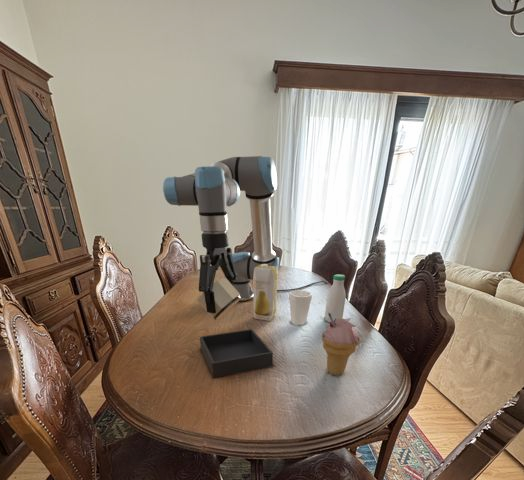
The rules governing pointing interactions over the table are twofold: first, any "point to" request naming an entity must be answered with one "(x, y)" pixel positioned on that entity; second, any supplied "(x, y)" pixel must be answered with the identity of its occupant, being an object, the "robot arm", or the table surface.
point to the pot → (221, 297)
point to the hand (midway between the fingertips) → (221, 306)
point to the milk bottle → (336, 299)
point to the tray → (235, 352)
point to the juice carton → (264, 292)
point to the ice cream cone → (339, 344)
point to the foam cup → (299, 306)
